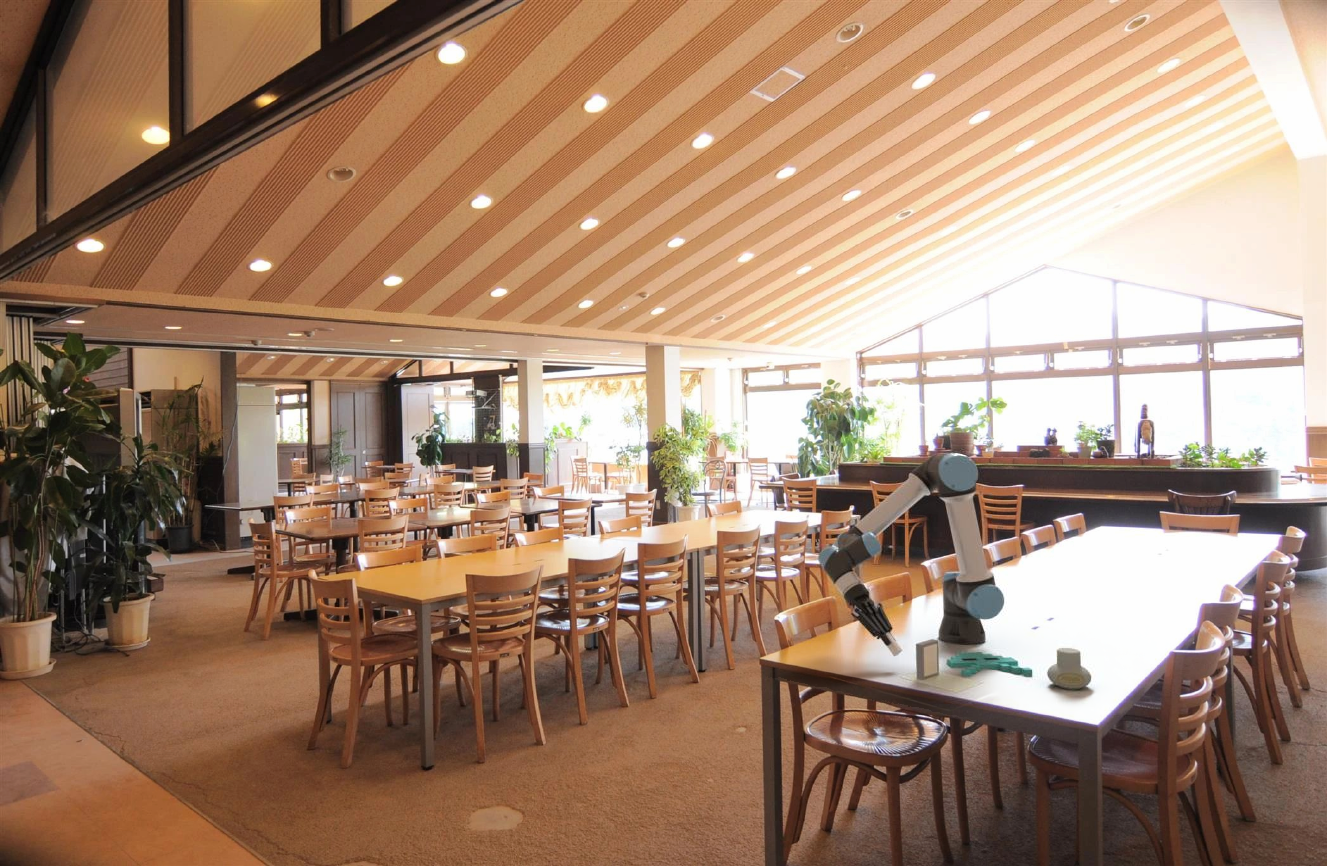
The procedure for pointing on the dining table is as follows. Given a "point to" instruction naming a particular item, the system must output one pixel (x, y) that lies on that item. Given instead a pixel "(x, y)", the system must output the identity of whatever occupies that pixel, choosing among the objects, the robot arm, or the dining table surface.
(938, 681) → the felt mat
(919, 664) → the slate tile
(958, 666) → the alien figure
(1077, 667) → the air freshener
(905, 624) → the dining table surface
